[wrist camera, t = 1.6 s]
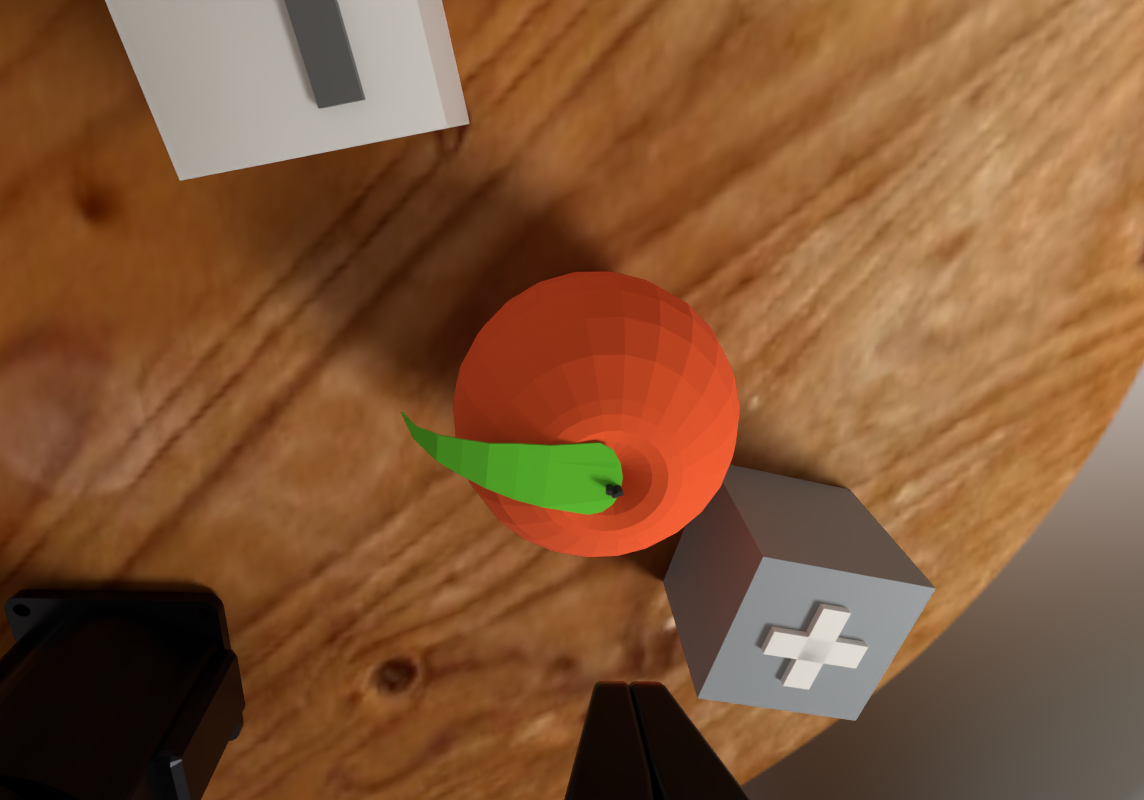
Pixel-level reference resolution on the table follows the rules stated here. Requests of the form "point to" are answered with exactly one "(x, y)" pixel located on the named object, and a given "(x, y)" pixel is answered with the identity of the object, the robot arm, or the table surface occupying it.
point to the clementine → (592, 415)
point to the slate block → (790, 596)
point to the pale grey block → (288, 76)
